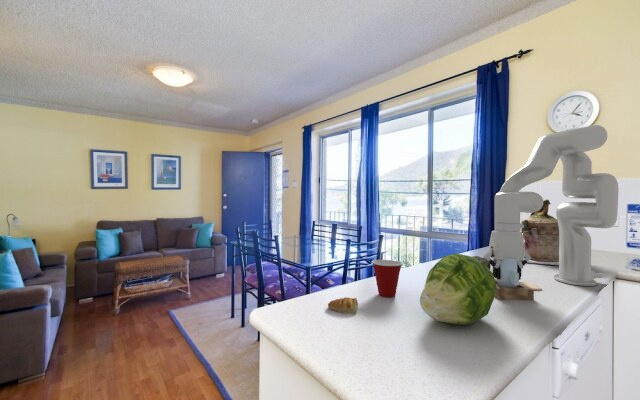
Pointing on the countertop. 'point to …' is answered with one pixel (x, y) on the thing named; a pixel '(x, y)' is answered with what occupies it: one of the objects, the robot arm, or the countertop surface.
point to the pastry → (344, 305)
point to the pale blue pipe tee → (508, 273)
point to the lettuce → (458, 290)
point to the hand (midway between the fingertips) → (506, 278)
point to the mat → (531, 286)
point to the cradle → (515, 292)
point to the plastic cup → (387, 276)
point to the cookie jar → (541, 236)
